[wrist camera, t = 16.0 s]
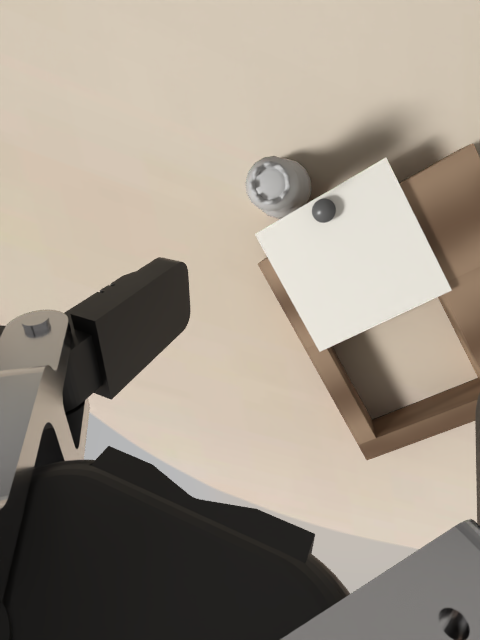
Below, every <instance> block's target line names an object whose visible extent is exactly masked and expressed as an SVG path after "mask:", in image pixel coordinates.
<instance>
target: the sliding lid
mask: <svg viewBox="0 0 480 640" xmlns="http://www.w3.org/2000/svg"><path fill="white" fill-rule="evenodd" d="M255 236H256V237H257V239H258V241H259V243H260V245H261V246H262V248H263V250H264V252H265V254H266V256H267V257H268V259H269V261H270V263H271V265H272V266H273V268H274V270H275V272H276V274H277V276H278V277H279V279H280V281H281V283H282V285H283V286H284V288H285V290H286V292H287V294H288V295H289V297H290V299H291V301H292V303H293V305H294V306H295V308H296V310H297V312H298V314H299V315H300V317H301V319H302V321H303V323H304V325H305V326H306V328H307V330H308V332H309V334H310V335H311V337H312V339H313V341H314V343H315V344H316V346H317V348H318V350H319V352H321V351H323V350H325V349H327V348H329V347H331V346H334V345H336V344H338V343H340V342H342V341H344V340H346V339H349V338H351V337H353V336H355V335H357V334H359V333H361V332H364V331H366V330H368V329H370V328H372V327H374V326H376V325H379V324H381V323H383V322H385V321H387V320H389V319H392V318H394V317H396V316H398V315H400V314H402V313H404V312H407V311H409V310H411V309H413V308H415V307H417V306H419V305H422V304H424V303H426V302H428V301H430V300H432V299H435V298H437V297H439V296H441V295H443V294H445V293H447V292H450V291H452V290H451V288H450V286H449V283H448V281H447V279H446V277H445V275H444V273H443V271H442V269H441V267H440V265H439V263H438V261H437V259H436V257H435V255H434V253H433V251H432V249H431V247H430V245H429V243H428V241H427V239H426V237H425V235H424V233H423V231H422V229H421V227H420V225H419V223H418V221H417V219H416V217H415V215H414V213H413V211H412V209H411V207H410V205H409V202H408V200H407V198H406V196H405V194H404V192H403V190H402V188H401V186H400V184H399V182H398V180H397V178H396V176H395V174H394V172H393V170H392V168H391V166H390V164H389V162H388V160H387V158H384V159H382V160H380V161H379V162H377V163H375V164H374V165H372V166H370V167H369V168H367V169H365V170H363V171H362V172H360V173H358V174H357V175H355V176H353V177H351V178H350V179H348V180H346V181H345V182H343V183H341V184H340V185H338V186H336V187H334V188H333V189H331V190H329V191H328V192H326V193H324V194H322V195H321V196H319V197H317V198H316V199H314V200H312V201H311V202H309V203H307V204H305V205H304V206H302V207H300V208H299V209H297V210H295V211H293V212H292V213H290V214H288V215H287V216H285V217H283V218H282V219H280V220H278V221H276V222H275V223H273V224H271V225H270V226H268V227H266V228H264V229H263V230H261V231H259V232H258V233H256V234H255Z"/></svg>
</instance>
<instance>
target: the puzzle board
mask: <svg viewBox="0 0 480 640" xmlns="http://www.w3.org/2000/svg"><path fill="white" fill-rule="evenodd" d="M399 184H400V186H401V188H402V190H403V192H404V194H405V196H406V198H407V200H408V202H409V205H410V207H411V209H412V211H413V213H414V215H415V217H416V219H417V221H418V223H419V225H420V227H421V229H422V231H423V233H424V235H425V237H426V239H427V241H428V243H429V245H430V247H431V249H432V251H433V253H434V255H435V257H436V259H437V261H438V263H439V265H440V267H441V269H442V271H443V273H444V275H445V277H446V279H447V281H448V283H449V286H450V288H451V290H452V291H450V292H447V293H445V294H443V295H441V296H439V297H438V298H439V300H440V302H441V304H442V306H443V308H444V310H445V312H446V314H447V316H448V318H449V320H450V322H451V324H452V326H453V328H454V330H455V332H456V334H457V336H458V338H459V340H460V342H461V344H462V346H463V348H464V350H465V352H466V354H467V356H468V358H469V360H470V362H471V364H472V366H473V368H474V370H475V372H476V374H477V376H478V378H477V379H475V380H472V381H469V382H467V383H464V384H462V385H459V386H457V387H454V388H452V389H449V390H447V391H444V392H442V393H439V394H437V395H434V396H432V397H429V398H427V399H424V400H422V401H419V402H416V403H414V404H411V405H409V406H406V407H404V408H401V409H399V410H396V411H394V412H391V413H389V414H386V415H384V416H381V417H379V418H376V419H374V420H372V419H371V417H370V415H369V414H368V412H367V410H366V408H365V406H364V404H363V403H362V401H361V399H360V397H359V395H358V393H357V392H356V390H355V388H354V386H353V384H352V382H351V381H350V379H349V377H348V375H347V373H346V371H345V370H344V368H343V366H342V364H341V362H340V360H339V359H338V357H337V355H336V353H335V351H334V349H333V348H332V346H331V347H329V348H327V349H325V350H323V351H321V352H319V350H318V348H317V346H316V344H315V343H314V341H313V339H312V337H311V335H310V334H309V332H308V330H307V328H306V326H305V325H304V323H303V321H302V319H301V317H300V315H299V314H298V312H297V310H296V308H295V306H294V305H293V303H292V301H291V299H290V297H289V295H288V294H287V292H286V290H285V288H284V286H283V285H282V283H281V281H280V279H279V277H278V276H277V274H276V272H275V270H274V268H273V266H272V265H271V263H270V261H269V259H268V257H267V258H265V259H264V260H262V261H261V262H260V263H258V265H259V267H260V269H261V271H262V273H263V274H264V276H265V278H266V280H267V282H268V283H269V285H270V287H271V289H272V291H273V292H274V294H275V296H276V298H277V300H278V301H279V303H280V305H281V307H282V309H283V310H284V312H285V314H286V316H287V318H288V319H289V321H290V323H291V325H292V327H293V328H294V330H295V332H296V334H297V336H298V337H299V339H300V341H301V343H302V345H303V346H304V348H305V350H306V352H307V354H308V355H309V357H310V359H311V361H312V363H313V364H314V366H315V368H316V370H317V372H318V373H319V375H320V377H321V379H322V381H323V382H324V384H325V386H326V388H327V390H328V391H329V393H330V395H331V397H332V399H333V400H334V402H335V404H336V406H337V408H338V409H339V411H340V413H341V415H342V417H343V418H344V420H345V422H346V424H347V426H348V427H349V429H350V431H351V433H352V435H353V436H354V438H355V440H356V442H357V444H358V445H359V447H360V449H361V451H362V453H363V454H364V456H365V458H366V460H369V459H372V458H375V457H377V456H380V455H383V454H385V453H388V452H391V451H394V450H396V449H399V448H402V447H404V446H407V445H410V444H413V443H415V442H418V441H421V440H424V439H426V438H429V437H432V436H434V435H437V434H440V433H443V432H445V431H448V430H451V429H453V428H456V427H459V426H462V425H464V424H467V423H470V422H472V421H475V413H476V405H477V400H478V396H479V393H480V157H479V155H478V153H477V150H476V148H475V146H474V144H470V145H468V146H466V147H464V148H462V149H459V150H458V151H456V152H454V153H452V154H450V155H449V156H447V157H445V158H443V159H442V160H440V161H438V162H436V163H434V164H433V165H431V166H429V167H427V168H426V169H424V170H422V171H420V172H418V173H417V174H415V175H413V176H411V177H410V178H408V179H406V180H404V181H402V182H401V183H399Z"/></svg>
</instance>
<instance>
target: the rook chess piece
mask: <svg viewBox="0 0 480 640" xmlns="http://www.w3.org/2000/svg"><path fill="white" fill-rule="evenodd" d="M246 191H247V194H248V196H249V198H250V200H251V202H252V203H253V204H254V205H255V206H257V207H258V208H259V209H261V210H262V211H263V212H264V213H266V214H267V215H268V216H271V217H274V218H278V219H282V218H283V217H285V216H287V215H288V214H290V213H292V212H293V211H295V210H297V209H299V208H300V207H302V206H304V205H305V204H307V203H308V201H309V198H310V195H311V192H312V191H311V179H310V177H309V175H308V173H307V171H306V169H305V168H304V167H303V166H301V165H300V164H299V163H298V162H297V161H293V160H290V159H286V158H279V157H276V156H272V157H265V158H262V159H261V160H259V161H258V162H256V163H255V164H254V165H253V166H252V168H251V169H250V170H249V172H248V175H247V179H246Z"/></svg>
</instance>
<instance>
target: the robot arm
mask: <svg viewBox="0 0 480 640" xmlns="http://www.w3.org/2000/svg"><path fill="white" fill-rule="evenodd" d="M189 318H190V296H189V280H188V269H187V266H186V264H185V263H183V262H180V261H175V260H170V259H166V258H161V257H159V258H156V259H155V260H153V261H152V262H150V263H149V264H147V265H146V266H144V267H142V268H141V269H139V270H138V271H136V272H133V273H130V274H127V275H124V276H122V277H120V278H119V279H117V280H116V281H114V282H113V283H111V285H110V286H109V285H108V286H106V287H105V288H103V289H101V290H100V292H97V293H95V294H94V295H92V296H90V297H89V298H87V299H86V300H84V301H82V302H81V303H79V304H78V305H76V306H74V307H73V308H71V309H70V310H68V311H67V312H65V313H62V312H60V311H56V310H38V311H33V312H29V313H26V314H23V315H21V316H19V317H17V318H15V319H13V320H12V321H10V322H9V323H8V324H7V325H6V326H0V640H480V393H479V396H478V400H477V405H476V413H475V421H476V474H477V523H476V522H475V521H474V520H472V519H471V520H466V521H464V522H461V523H460V524H458V525H456V526H455V527H453V528H451V529H450V530H448V531H447V532H445V533H444V534H442V535H441V536H439V537H438V538H436V539H435V540H433V541H431V542H430V543H428V544H427V545H425V546H424V547H422V548H421V549H419V550H418V551H416V552H414V553H413V554H411V555H410V556H408V557H407V558H405V559H404V560H402V561H401V562H399V563H398V564H396V565H394V566H393V567H391V568H390V569H388V570H387V571H385V572H384V573H382V574H381V575H379V576H378V577H376V578H375V579H373V580H371V581H370V582H368V583H367V584H365V585H364V586H362V587H361V588H359V589H357V590H356V591H354V592H353V593H351V594H350V593H349V592H348V590H347V589H346V587H345V586H344V585H343V584H342V583H341V581H340V580H339V579H338V578H337V577H336V575H335V574H334V573H332V572H331V571H330V570H329V569H328V568H327V567H326V566H325V565H324V564H323V563H322V562H321V561H320V560H318V559H317V558H315V556H313V555H312V554H311V553H312V547H313V542H314V537H315V534H314V533H311V532H309V531H307V530H304V529H302V528H300V527H297V526H295V525H293V524H290V523H288V522H286V521H283V520H281V519H279V518H276V517H274V516H272V515H269V514H267V513H265V512H262V511H260V510H258V509H253V508H247V507H241V506H235V505H228V504H223V503H217V502H211V501H205V500H199V499H196V498H193V497H192V496H190V495H189V494H187V493H186V492H185V491H184V490H183V489H181V488H180V487H179V486H178V485H177V484H175V483H174V482H173V481H172V480H170V479H169V478H168V477H167V476H166V475H164V474H163V473H162V472H161V471H159V470H158V469H157V468H156V467H155V466H153V465H152V464H150V463H147V462H145V461H143V460H140V459H138V458H136V457H133V456H131V455H129V454H126V453H124V452H121V451H119V450H117V449H115V448H112V447H110V446H108V447H107V448H106V449H105V450H104V452H103V453H102V454H101V455H100V456H99V457H98V458H97V459H96V460H84V451H85V443H86V434H87V426H88V418H89V409H90V405H89V401H88V397H89V396H90V395H91V394H92V393H96V394H98V395H101V396H104V397H106V398H109V399H112V398H113V397H115V396H116V395H117V394H118V393H119V392H120V391H121V390H122V389H123V388H124V387H125V386H126V385H127V384H128V383H129V382H130V381H131V380H132V379H133V378H134V377H135V376H136V375H138V374H139V373H140V372H141V371H142V370H143V369H144V368H145V367H146V366H147V365H148V364H149V363H150V362H151V361H152V360H153V359H154V358H155V357H156V356H157V355H158V354H159V353H161V352H162V351H163V350H164V349H165V348H166V347H167V346H168V345H169V344H170V343H171V342H172V341H173V340H174V339H175V338H176V337H177V336H178V335H179V334H180V333H181V332H182V331H183V330H184V329H185V328H186V326H187V324H188V321H189Z"/></svg>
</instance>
